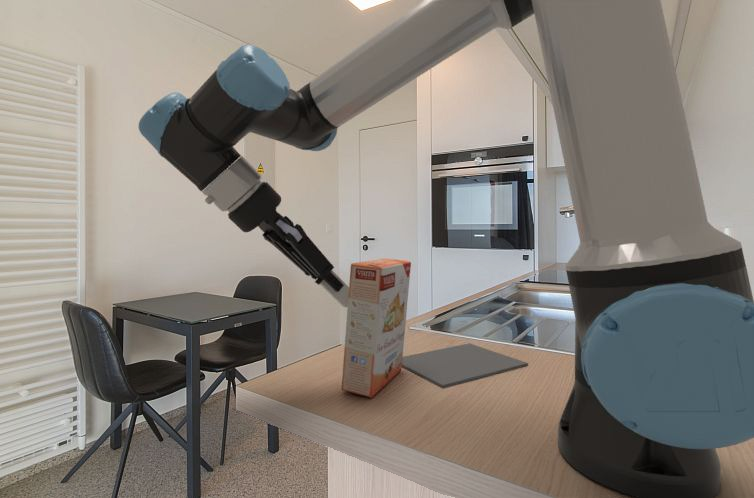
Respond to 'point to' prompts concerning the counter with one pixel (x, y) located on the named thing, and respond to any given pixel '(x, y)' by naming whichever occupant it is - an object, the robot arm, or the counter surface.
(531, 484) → the counter surface
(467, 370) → the mat
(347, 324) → the cracker box
